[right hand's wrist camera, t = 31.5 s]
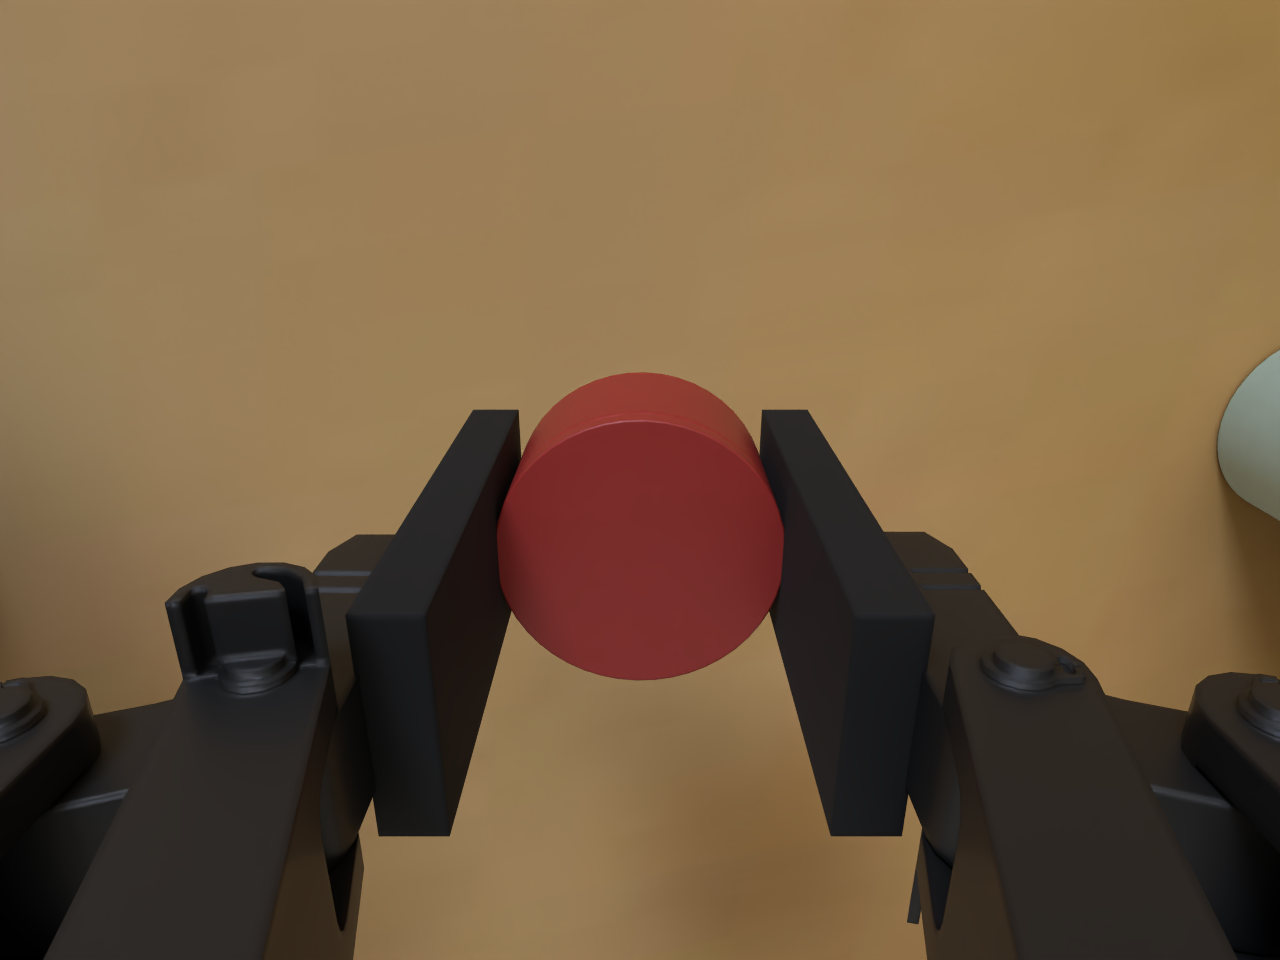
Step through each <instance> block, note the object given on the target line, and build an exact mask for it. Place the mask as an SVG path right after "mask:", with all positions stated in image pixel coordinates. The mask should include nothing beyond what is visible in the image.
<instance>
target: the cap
mask: <svg viewBox="0 0 1280 960" xmlns="http://www.w3.org/2000/svg"><path fill="white" fill-rule="evenodd" d="M497 546H498V560H499V574H500V586H501V589H502V591H503V594H504V596H505V599H506V601H507V603H508V605H509V607H510V608H511V610H512V612H513V613H514V615H515V617H516V618H517V620H518V621H519V622H520V623H521V625H522V626H523V627H524V628H525V630H526V631H527V632H528V633H529V634H530V635H531V636H532V637H533V638H534V639H535V640H536V641H537V642H538V643H539V644H540V645H542V646H543V647H544V648H546V649H547V650H548V651H550V652H551V653H552V654H554V655H555V656H557V657H559V658H560V659H562V660H564V661H565V662H567V663H569V664H571V665H574V666H576V667H578V668H580V669H583V670H585V671H588V672H592V673H595V674H598V675H601V676H606V677H612V678H617V679H626V680H656V679H664V678H671V677H675V676H679V675H683V674H687V673H690V672H693V671H696V670H698V669H701V668H703V667H706V666H708V665H710V664H712V663H714V662H716V661H718V660H719V659H721V658H723V657H724V656H726V655H727V654H729V653H730V652H732V651H733V650H735V649H736V648H737V647H738V646H739V645H740V644H742V643H743V642H744V641H745V640H746V639H747V638H748V637H749V636H750V635H751V634H752V633H753V632H754V631H755V630H756V628H757V627H758V626H759V625H760V624H761V622H762V621H763V619H764V618H765V616H766V615H767V613H768V612H769V610H770V608H771V606H772V604H773V602H774V600H775V598H776V596H777V594H778V591H779V588H780V584H781V574H782V560H783V546H784V526H783V522H782V519H781V515H780V511H779V508H778V506H777V503H776V500H775V497H774V494H773V492H772V489H771V486H770V483H769V481H768V478H767V475H766V472H765V470H764V467H763V464H762V461H761V459H760V456H759V453H758V450H757V448H756V446H755V444H754V441H753V439H752V437H751V435H750V433H749V432H748V430H747V428H746V427H745V425H744V424H743V422H742V421H741V420H740V419H739V418H738V416H737V415H736V414H735V413H734V411H732V410H731V409H730V408H729V407H728V406H727V405H726V404H725V403H724V402H723V401H722V400H720V399H719V398H717V397H716V396H715V395H713V394H712V393H710V392H709V391H707V390H705V389H703V388H701V387H699V386H698V385H696V384H694V383H691V382H688V381H685V380H683V379H680V378H677V377H672V376H669V375H663V374H655V373H625V374H619V375H613V376H609V377H606V378H602V379H599V380H596V381H593V382H591V383H589V384H586V385H584V386H582V387H580V388H578V389H577V390H575V391H573V392H572V393H570V394H568V395H567V396H565V397H564V398H563V399H562V400H561V401H559V402H558V403H557V404H556V405H554V406H553V407H552V408H551V410H550V411H549V412H548V413H547V414H546V415H545V416H544V417H543V418H542V420H541V421H540V423H539V424H538V425H537V427H536V428H535V430H534V431H533V433H532V435H531V437H530V439H529V441H528V443H527V445H526V448H525V450H524V453H523V455H522V458H521V460H520V463H519V466H518V468H517V471H516V473H515V476H514V478H513V481H512V483H511V486H510V488H509V491H508V493H507V496H506V498H505V501H504V503H503V506H502V509H501V512H500V515H499V518H498V523H497Z"/></svg>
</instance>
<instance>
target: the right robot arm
mask: <svg viewBox="0 0 1280 960" xmlns="http://www.w3.org/2000/svg"><path fill="white" fill-rule="evenodd" d="M760 459H761V461H762V464H763V467H764V470H765V472H766V475H767V478H768V481H769V483H770V486H771V489H772V492H773V494H774V497H775V500H776V503H777V506H778V508H779V511H780V515H781V519H782V522H783V526H784V546H783V560H782V574H781V584H780V588H779V591H778V594H777V596H776V598H775V600H774V602H773V604H772V606H771V608H770V610H769V612H770V616H771V620H772V623H773V627H774V631H775V634H776V638H777V642H778V645H779V649H780V653H781V656H782V660H783V663H784V667H785V671H786V674H787V678H788V682H789V685H790V689H791V693H792V696H793V700H794V704H795V707H796V711H797V714H798V718H799V722H800V725H801V729H802V733H803V736H804V740H805V744H806V747H807V751H808V755H809V758H810V762H811V765H812V769H813V773H814V776H815V780H816V784H817V787H818V791H819V795H820V798H821V802H822V806H823V809H824V813H825V817H826V820H827V824H828V827H829V831H830V835H831V836H902V832H903V825H904V819H905V812H906V805H907V799H908V794H909V797H910V799H911V801H912V804H913V806H914V809H915V811H916V814H917V816H918V818H919V821H920V823H921V826H922V833H921V839H920V845H919V851H918V857H917V863H916V869H915V876H914V882H913V888H912V894H911V900H910V906H909V913H908V920H907V922H908V923H914V924H918V923H919V918H920V913H921V912H922V920H923V928H924V936H925V945H926V953H927V960H1280V680H1279V679H1277V678H1276V677H1274V676H1269V675H1264V674H1246V673H1235V672H1229V673H1223V674H1216V675H1210V676H1208V677H1206V678H1205V679H1204V680H1202V681H1201V682H1200V683H1198V684H1197V685H1196V687H1195V691H1194V694H1193V697H1192V701H1191V704H1190V707H1189V711H1188V712H1187V711H1181V710H1176V709H1171V708H1165V707H1160V706H1155V705H1150V704H1144V703H1139V702H1134V701H1128V700H1124V699H1120V698H1116V697H1112V696H1108V695H1105V694H1104V692H1103V690H1102V688H1101V686H1100V684H1099V682H1098V680H1097V678H1096V677H1095V676H1094V674H1093V673H1092V672H1091V671H1090V670H1089V668H1088V667H1087V666H1086V665H1085V664H1084V663H1083V662H1082V661H1080V660H1079V659H1077V658H1076V657H1074V656H1073V655H1071V654H1069V653H1068V652H1066V651H1065V650H1063V649H1061V648H1059V647H1056V646H1054V645H1051V644H1048V643H1046V642H1043V641H1041V640H1038V639H1035V638H1030V637H1025V636H1020V635H1018V633H1017V632H1016V631H1015V630H1014V628H1013V627H1012V626H1011V624H1010V623H1009V622H1008V620H1007V619H1006V618H1005V617H1004V615H1003V614H1002V613H1001V611H1000V610H999V609H998V607H997V606H996V605H995V604H994V602H993V601H992V600H991V598H990V597H989V596H988V594H987V593H986V592H985V591H984V590H981V585H980V584H979V583H978V581H977V580H976V579H975V578H974V576H973V575H972V574H971V573H968V568H967V567H966V566H965V565H964V563H963V562H962V561H961V559H960V558H959V557H958V555H957V554H956V553H955V551H954V550H953V549H952V548H950V547H948V546H947V545H945V544H943V543H942V542H940V541H938V540H937V539H935V538H933V537H932V536H930V535H929V534H927V533H925V532H883V530H882V528H881V527H880V525H879V524H878V522H877V520H876V519H875V517H874V516H873V514H872V512H871V511H870V509H869V508H868V506H867V504H866V503H865V501H864V500H863V498H862V496H861V495H860V493H859V492H858V490H857V488H856V487H855V485H854V484H853V482H852V480H851V479H850V477H849V476H848V474H847V472H846V471H845V469H844V468H843V466H842V464H841V463H840V461H839V460H838V458H837V456H836V455H835V453H834V452H833V450H832V448H831V447H830V445H829V444H828V442H827V440H826V439H825V437H824V436H823V434H822V432H821V431H820V429H819V428H818V426H817V424H816V423H815V421H814V420H813V418H812V416H811V415H810V413H809V412H808V410H762V420H761V438H760ZM520 460H521V445H520V428H519V410H473V411H472V413H471V414H470V416H469V417H468V419H467V421H466V422H465V424H464V425H463V427H462V429H461V430H460V432H459V433H458V435H457V437H456V438H455V440H454V441H453V443H452V445H451V446H450V448H449V449H448V451H447V453H446V454H445V456H444V457H443V459H442V461H441V462H440V464H439V465H438V467H437V469H436V470H435V472H434V473H433V475H432V477H431V478H430V480H429V481H428V483H427V485H426V486H425V488H424V489H423V491H422V493H421V494H420V496H419V497H418V499H417V501H416V502H415V504H414V505H413V507H412V509H411V510H410V512H409V513H408V515H407V517H406V518H405V520H404V521H403V523H402V525H401V526H400V528H399V529H398V531H397V533H396V534H395V535H355V536H354V537H352V538H350V539H349V540H347V541H346V542H344V543H342V544H341V545H339V546H337V547H336V548H334V549H332V550H331V551H329V552H328V553H327V554H326V556H325V557H324V558H323V560H322V561H321V562H320V564H319V565H318V566H317V568H316V569H315V570H314V571H313V573H312V572H310V571H309V570H308V569H306V568H305V567H301V566H297V565H292V564H288V563H253V564H247V565H241V566H235V567H229V568H226V569H223V570H220V571H217V572H214V573H211V574H208V575H205V576H202V577H200V578H198V579H196V580H194V581H193V582H191V583H189V584H187V585H185V586H183V587H181V588H180V589H178V590H177V591H176V592H175V593H174V594H173V595H172V596H171V597H170V598H169V599H168V600H167V601H166V602H165V606H166V610H167V614H168V619H169V623H170V627H171V631H172V635H173V639H174V643H175V647H176V651H177V656H178V660H179V664H180V668H181V672H182V676H183V681H182V683H181V685H180V687H179V689H178V691H177V693H176V695H175V697H174V699H172V700H168V701H164V702H160V703H156V704H151V705H146V706H140V707H135V708H130V709H125V710H119V711H114V712H109V713H104V714H98V715H93V712H92V708H91V705H90V702H89V698H88V695H87V691H86V689H85V688H84V687H82V686H81V685H80V684H78V683H77V682H76V681H75V680H73V679H66V678H60V677H54V676H45V677H34V678H18V679H13V680H7V681H6V682H5V683H2V682H0V960H353V955H354V947H355V938H356V930H357V922H358V913H359V905H360V897H361V889H362V880H363V872H364V865H363V858H362V851H361V845H360V839H359V833H358V832H359V829H360V827H361V824H362V822H363V819H364V817H365V814H366V812H367V810H368V807H369V805H370V802H371V800H372V797H373V802H374V808H375V815H376V821H377V828H378V835H379V836H450V833H451V830H452V826H453V822H454V819H455V815H456V811H457V808H458V804H459V800H460V797H461V793H462V789H463V786H464V782H465V778H466V775H467V771H468V768H469V764H470V760H471V757H472V753H473V749H474V746H475V742H476V738H477V735H478V731H479V727H480V724H481V720H482V717H483V713H484V709H485V706H486V702H487V698H488V695H489V691H490V687H491V684H492V680H493V676H494V673H495V669H496V666H497V662H498V658H499V655H500V651H501V647H502V644H503V640H504V636H505V633H506V629H507V625H508V622H509V618H510V614H511V611H512V610H511V608H510V607H509V605H508V603H507V601H506V599H505V596H504V594H503V591H502V589H501V586H500V574H499V560H498V546H497V523H498V518H499V515H500V512H501V509H502V506H503V503H504V501H505V498H506V496H507V493H508V491H509V488H510V486H511V483H512V481H513V478H514V476H515V473H516V471H517V468H518V466H519V463H520Z"/></svg>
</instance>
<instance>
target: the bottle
mask: <svg viewBox="0 0 1280 960" xmlns="http://www.w3.org/2000/svg"><path fill="white" fill-rule="evenodd" d="M1217 449H1218V459H1219V463H1220V468H1221V470H1222V473H1223V475H1224V477H1225V479H1226V481H1227V482H1228V484H1229V485H1230V487H1231V488H1232V489H1233V490H1234V491H1235V492H1236V494H1237V495H1239V496H1240V497H1241V498H1243V499H1244V500H1245V501H1247V502H1249V503H1250V504H1252V505H1254V506H1255V507H1257V508H1259V509H1260V510H1262V511H1264V512H1265V513H1267V514H1269V515H1271V516H1272V517H1274V518H1276V519H1277V520H1279V521H1280V350H1278V351H1277V352H1275V353H1274V354H1272V355H1271V356H1269V357H1268V358H1267V359H1266V360H1264V361H1263V362H1262V363H1261V364H1260V365H1258V366H1257V367H1256V368H1255V369H1254V370H1253V371H1252V372H1251V373H1250V374H1249V375H1248V376H1247V378H1246V379H1245V380H1244V381H1243V383H1242V384H1241V385H1240V386H1239V388H1238V389H1237V391H1236V392H1235V394H1234V395H1233V397H1232V398H1231V400H1230V402H1229V404H1228V406H1227V408H1226V410H1225V413H1224V416H1223V418H1222V421H1221V424H1220V429H1219V434H1218V445H1217Z"/></svg>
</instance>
